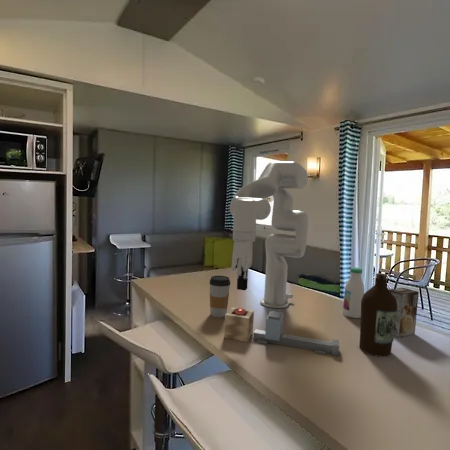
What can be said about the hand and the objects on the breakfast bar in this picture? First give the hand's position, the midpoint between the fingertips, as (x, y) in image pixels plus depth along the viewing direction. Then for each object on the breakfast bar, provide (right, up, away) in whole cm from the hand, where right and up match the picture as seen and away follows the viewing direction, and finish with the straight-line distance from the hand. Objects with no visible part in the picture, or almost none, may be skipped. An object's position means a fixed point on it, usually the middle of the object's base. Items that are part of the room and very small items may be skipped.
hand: (242, 289), depth 117 cm
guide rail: (+16, -17, -5) cm, 24 cm away
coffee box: (+59, -18, +10) cm, 62 cm away
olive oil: (+43, -19, -6) cm, 47 cm away
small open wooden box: (-1, -16, +1) cm, 16 cm away
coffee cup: (-8, -14, +20) cm, 26 cm away
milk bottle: (+47, -16, +26) cm, 57 cm away
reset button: (-1, -12, 0) cm, 12 cm away
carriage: (+10, -15, -3) cm, 19 cm away
